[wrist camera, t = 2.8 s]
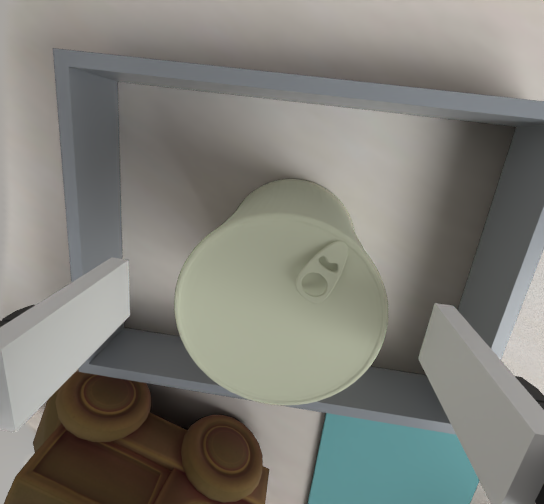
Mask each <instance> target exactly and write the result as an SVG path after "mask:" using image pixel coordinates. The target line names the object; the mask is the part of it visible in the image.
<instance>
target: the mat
mask: <svg viewBox="0 0 544 504" xmlns="http://www.w3.org/2000/svg"><path fill="white" fill-rule="evenodd" d="M478 483H479V479H478V477H477V475H476V473H475V471H474V469H473V467H472V465H471V463H470V461H469V459H468V457H467V455H466V453H465V451H464V449H463V447H462V445H461V443H460V441H459V439H458V437H457V435H455V434H449V433H443V432H437V431H431V430H425V429H419V428H413V427H407V426H401V425H395V424H389V423H383V422H377V421H371V420H365V419H359V418H353V417H347V416H341V415H335V414H329V413H326V415H325V420H324V425H323V430H322V435H321V440H320V445H319V449H318V454H317V459H316V464H315V469H314V474H313V479H312V484H311V488H310V493H309V498H308V503H307V504H470V502H471V500H472V497H473V495H474V492H475V490H476V488H477V485H478Z"/></svg>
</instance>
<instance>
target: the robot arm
mask: <svg viewBox="0 0 544 504" xmlns="http://www.w3.org/2000/svg"><path fill="white" fill-rule="evenodd" d="M129 316H130V293H129V260H126V259H119V258H112V257H111V258H110V259H108V260H107V261H105V262H103V263H102V264H100V265H99V266H97V267H96V268H94V269H92V270H91V271H89V272H88V273H86V274H84V275H83V276H81V277H80V278H78V279H76V280H75V281H73V282H72V283H70V284H68V285H67V286H65V287H64V288H62V289H60V290H59V291H57V292H56V293H54V294H53V295H51V296H49V297H48V298H46V299H45V300H43V301H41V302H40V303H38V304H37V305H31V306H28V307H25V308H23V309H20V310H17V311H15V312H13V313H12V314H10V315H8V316H7V317H5V318H3V319H2V321H0V430H4V431H9V432H15V433H16V432H17V431H18V430H19V429H20V428H21V427H22V426H23V425H24V424H25V423H26V422H27V421H28V420H29V419H30V418H31V417H32V416H33V414H34V413H35V412H36V411H37V410H38V409H39V408H40V407H41V406H42V405H43V404H44V403H45V402H46V401H47V400H48V399H49V398H50V397H51V396H52V395H53V394H54V393H55V392H56V391H57V390H58V389H59V388H60V387H61V386H62V385H63V384H64V383H65V382H66V381H67V380H68V379H69V378H70V377H71V376H72V375H73V373H74V372H75V371H76V370H77V369H78V368H79V367H80V366H81V365H82V364H83V363H84V362H85V361H86V360H87V359H88V358H89V357H90V356H91V355H92V354H93V353H94V352H95V351H96V350H97V349H98V348H99V347H100V346H101V345H102V344H103V343H104V342H105V341H106V340H107V339H108V338H109V337H110V336H111V335H112V334H113V332H114V331H115V330H116V329H117V328H118V327H119V326H120V325H121V324H122V323H123V322H124V321H125V320H126V319H127V318H128V317H129ZM418 359H419V361H420V363H421V365H422V367H423V369H424V371H425V373H426V375H427V377H428V379H429V381H430V383H431V385H432V387H433V389H434V391H435V393H436V395H437V397H438V399H439V401H440V403H441V405H442V407H443V409H444V411H445V413H446V415H447V417H448V419H449V421H450V423H451V425H452V427H453V429H454V431H455V433H456V435H457V437H458V439H459V441H460V443H461V445H462V447H463V449H464V451H465V453H466V455H467V457H468V459H469V461H470V463H471V465H472V467H473V469H474V471H475V473H476V475H477V477H478V479H479V481H480V483H481V485H482V487H483V489H484V491H485V493H486V495H487V497H488V499H489V501H490V503H491V504H544V395H543V394H542V393H541V392H540V391H539V390H538V389H537V388H536V387H534V386H533V385H532V384H530V383H529V382H527V381H526V380H525V379H523V378H522V377H517V376H514V375H513V374H512V373H511V371H510V370H509V369H508V368H507V367H506V366H505V365H504V363H503V362H502V361H501V360H500V359H499V358H498V356H497V355H496V354H495V353H494V352H493V351H492V350H491V348H490V347H489V346H488V345H487V344H486V343H485V341H484V340H483V339H482V338H481V337H480V336H479V335H478V333H477V332H476V331H475V330H474V329H473V328H472V326H471V325H470V324H469V323H468V322H467V321H466V320H465V318H464V317H463V316H462V315H461V314H460V313H459V311H458V310H457V309H456V308H455V307H454V306H452V305H445V304H438V303H435V304H434V307H433V311H432V314H431V317H430V321H429V324H428V327H427V331H426V334H425V337H424V341H423V344H422V347H421V351H420V354H419V357H418Z"/></svg>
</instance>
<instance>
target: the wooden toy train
mask: <svg viewBox="0 0 544 504" xmlns="http://www.w3.org/2000/svg"><path fill="white" fill-rule="evenodd" d="M150 409H151V394H150V390H149V388H148V386H147V383H143V382H137V381H131V380H125V379H119V378H113V377H107V376H101V375H95V374H89V373H83V372H79V370H78V371H76V372H75V373H74V374H73V375H72V376H71V377H70V378H69V379H68V380H67V381H66V382H65V383H64V384H63V385H62V386H61V387H60V388H59V389H58V390H57V391H56V392H55V393H54V394H53V395H52V396H51V397H50V398H49V399H48V401H47V404H46V407H45V410H44V412H43V415H42V418H41V421H40V424H39V427H38V430H37V433H36V435H35V438H34V441H33V445H34V450H35V453H34V455H33V456H32V457H31V458H30V460H29V461H28V462H27V463H26V464H25V466H24V467H23V468H22V469H21V471H20V472H19V473H18V474H17V476H16V477H15V479H14V481H13V483H12V486H11V488H10V490H9V492H8V495H7V497H6V500H5V502H4V504H265V500H266V492H267V483H268V475H269V469H268V468H266V467H263V465H262V453H261V449H260V446H259V443H258V442H257V440H256V438H255V437H254V435H253V433H252V432H251V431H250V430H249V429H248V428H247V427H246V426H245V425H244V424H242V423H241V422H239V421H238V420H236V419H234V418H231V417H228V416H225V415H210V416H207V417H203V418H201V419H199V420H198V421H197V422H195V423H194V424H192V425H191V426H190V427H189V429H188V430H186V429H184V428H182V427H179V426H177V425H175V424H173V423H171V422H169V421H167V420H165V419H163V418H161V417H158V416H156V415H154V414H152V413H150Z"/></svg>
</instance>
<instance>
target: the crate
mask: <svg viewBox="0 0 544 504" xmlns="http://www.w3.org/2000/svg"><path fill="white" fill-rule="evenodd" d="M53 56H54V69H55V81H56V94H57V106H58V119H59V131H60V144H61V157H62V169H63V182H64V194H65V207H66V219H67V232H68V244H69V257H70V270H71V282H73V281H75V280H76V279H78V278H80V277H81V276H83V275H84V274H86V273H88V272H89V271H91V270H92V269H94V268H96V267H97V266H99V265H100V264H102V263H103V262H105V261H107V260H108V259H110V258H111V257H112V258H119V259H122V228H121V191H120V155H119V119H118V82H126V83H135V84H143V85H152V86H161V87H170V88H179V89H188V90H196V91H205V92H214V93H223V94H232V95H241V96H249V97H258V98H267V99H276V100H285V101H294V102H302V103H311V104H320V105H329V106H338V107H347V108H355V109H364V110H373V111H382V112H391V113H400V114H409V115H417V116H426V117H435V118H444V119H453V120H462V121H470V122H479V123H488V124H497V125H506V126H515V127H516V129H515V132H514V135H513V139H512V142H511V145H510V148H509V151H508V154H507V157H506V160H505V164H504V167H503V170H502V173H501V176H500V179H499V182H498V185H497V189H496V192H495V195H494V198H493V201H492V204H491V207H490V210H489V214H488V217H487V220H486V223H485V226H484V229H483V232H482V235H481V239H480V242H479V245H478V248H477V251H476V254H475V257H474V260H473V264H472V267H471V270H470V273H469V276H468V279H467V282H466V285H465V289H464V292H463V295H462V298H461V301H460V304H459V307H458V311H459V313H460V314H461V315H462V316H463V317H464V318H465V320H466V321H467V322H468V323H469V324H470V325H471V326H472V328H473V329H474V330H475V331H476V332H477V333H478V335H479V336H480V337H481V338H482V339H483V340H484V341H485V343H486V344H487V345H488V346H489V347H490V348H491V350H492V351H493V352H494V353H495V354H496V355H497V356H498V358H499V359H500V360H501V359H502V356H503V354H504V351H505V348H506V346H507V343H508V341H509V338H510V335H511V333H512V330H513V328H514V325H515V322H516V320H517V317H518V315H519V312H520V309H521V307H522V304H523V302H524V299H525V296H526V294H527V291H528V289H529V286H530V284H531V281H532V278H533V276H534V273H535V271H536V268H537V265H538V263H539V260H540V258H541V255H542V252H543V250H544V101H535V100H526V99H517V98H508V97H499V96H489V95H480V94H471V93H462V92H452V91H443V90H434V89H425V88H416V87H406V86H397V85H388V84H379V83H369V82H360V81H351V80H342V79H333V78H323V77H314V76H305V75H296V74H286V73H277V72H268V71H259V70H250V69H240V68H231V67H222V66H213V65H203V64H194V63H185V62H176V61H167V60H157V59H148V58H139V57H130V56H121V55H111V54H102V53H93V52H84V51H74V50H65V49H56V48H53ZM78 370H79V372H83V373H89V374H95V375H101V376H107V377H113V378H119V379H125V380H131V381H137V382H143V383H149V384H155V385H161V386H167V387H173V388H179V389H185V390H191V391H197V392H203V393H209V394H215V395H221V396H227V397H233V398H239V399H245V400H249V399H246V398H243V397H241V396H239V395H236V394H234V393H232V392H230V391H228V390H227V389H225V388H223V387H222V386H220V385H219V384H217V383H216V382H214V381H213V380H212V379H211V378H209V377H208V376H207V375H206V374H205V373H204V372H203V371H202V370H201V369H200V368H199V367H198V366H197V364H196V363H195V362H194V360H193V359H192V358H191V356H190V355H189V353H188V351H187V350H186V348H185V346H184V344H183V342H182V340H181V338H180V337H179V336H173V335H167V334H160V333H154V332H148V331H141V330H135V329H128V328H124V322H123V323H122V324H121V325H120V326H119V327H118V328H117V329H116V330H115V331H114V332H113V334H112V335H111V336H110V337H109V338H108V339H107V340H106V341H105V342H104V343H103V344H102V345H101V346H100V347H99V348H98V349H97V350H96V351H95V352H94V353H93V354H92V355H91V356H90V357H89V358H88V359H87V360H86V361H85V362H84V363H83V364H82V365H81V366H80V367H79V368H78ZM251 401H252V400H251ZM281 406H287V407H293V408H299V409H305V410H311V411H317V412H323V413H329V414H335V415H341V416H347V417H353V418H359V419H365V420H371V421H377V422H383V423H389V424H395V425H401V426H407V427H413V428H419V429H425V430H431V431H437V432H443V433H449V434H455V435H456V433H455V431H454V429H453V427H452V425H451V423H450V421H449V419H448V417H447V415H446V413H445V411H444V409H443V407H442V405H441V403H440V401H439V399H438V397H437V395H436V393H435V391H434V389H433V387H432V385H431V383H430V381H429V379H428V377H427V375H421V374H414V373H408V372H402V371H395V370H389V369H383V368H376V367H369V368H368V370H367V371H366V372H365V373H364V374H363V375H362V376H361V377H360V378H359V379H358V380H356V381H355V382H354V383H353V384H351V385H350V386H349V387H347V388H346V389H344V390H342V391H341V392H339V393H337V394H335V395H333V396H331V397H328V398H325V399H322V400H319V401H316V402H312V403H307V404H300V405H281Z"/></svg>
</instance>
